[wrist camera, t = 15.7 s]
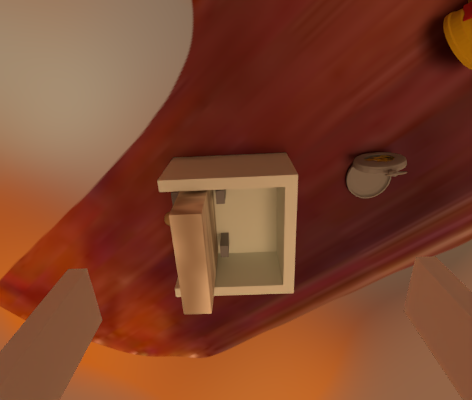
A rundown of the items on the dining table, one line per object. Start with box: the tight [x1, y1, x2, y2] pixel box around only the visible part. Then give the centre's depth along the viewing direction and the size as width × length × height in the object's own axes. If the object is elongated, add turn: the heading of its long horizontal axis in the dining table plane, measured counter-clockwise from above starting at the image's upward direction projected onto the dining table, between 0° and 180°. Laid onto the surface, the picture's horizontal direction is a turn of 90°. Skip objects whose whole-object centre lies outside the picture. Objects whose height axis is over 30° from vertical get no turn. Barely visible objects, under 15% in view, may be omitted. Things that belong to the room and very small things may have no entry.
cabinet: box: [157, 153, 298, 297], centre depth 45 cm, size 17×18×10 cm
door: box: [164, 190, 218, 314], centre depth 42 cm, size 5×14×14 cm, turn 3°
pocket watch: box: [346, 152, 407, 198], centre depth 42 cm, size 8×8×10 cm
